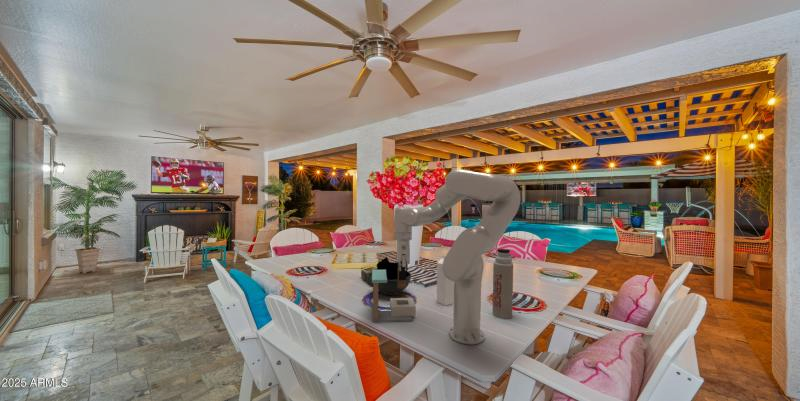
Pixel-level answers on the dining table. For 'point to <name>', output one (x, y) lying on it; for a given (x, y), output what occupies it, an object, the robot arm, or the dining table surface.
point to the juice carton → (367, 275)
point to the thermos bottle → (503, 284)
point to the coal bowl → (391, 277)
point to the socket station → (391, 303)
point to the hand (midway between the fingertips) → (401, 278)
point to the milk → (444, 286)
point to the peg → (401, 281)
